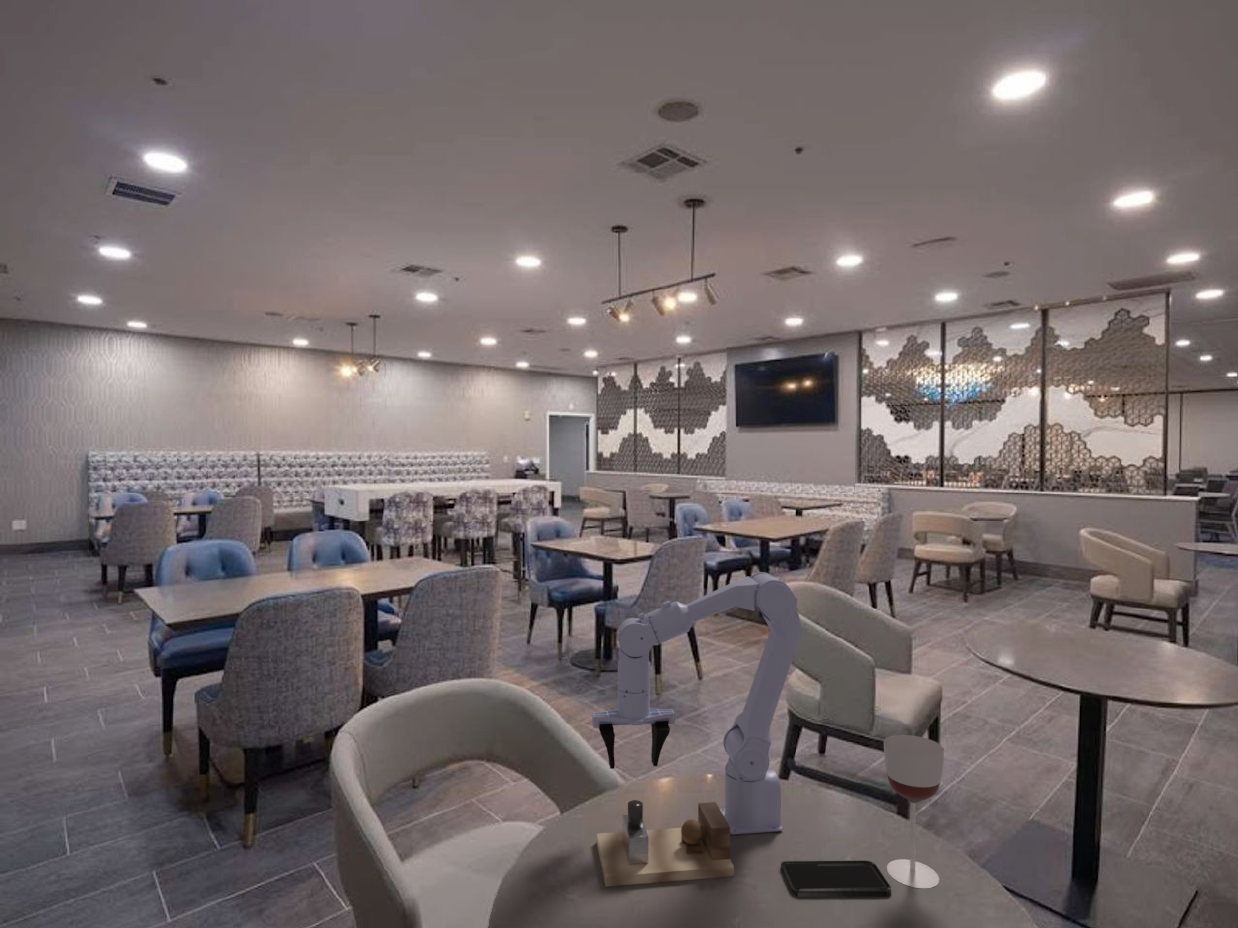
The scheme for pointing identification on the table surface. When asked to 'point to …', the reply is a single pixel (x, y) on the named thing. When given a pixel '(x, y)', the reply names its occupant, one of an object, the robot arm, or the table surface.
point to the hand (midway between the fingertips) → (633, 764)
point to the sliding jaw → (635, 834)
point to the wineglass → (913, 795)
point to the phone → (835, 879)
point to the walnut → (692, 832)
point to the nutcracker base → (671, 853)
